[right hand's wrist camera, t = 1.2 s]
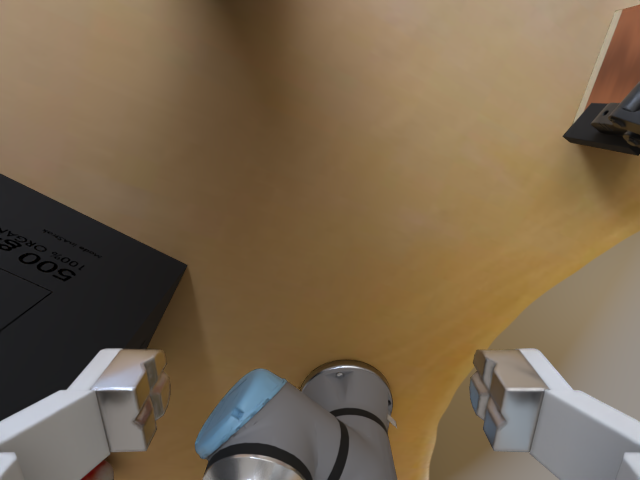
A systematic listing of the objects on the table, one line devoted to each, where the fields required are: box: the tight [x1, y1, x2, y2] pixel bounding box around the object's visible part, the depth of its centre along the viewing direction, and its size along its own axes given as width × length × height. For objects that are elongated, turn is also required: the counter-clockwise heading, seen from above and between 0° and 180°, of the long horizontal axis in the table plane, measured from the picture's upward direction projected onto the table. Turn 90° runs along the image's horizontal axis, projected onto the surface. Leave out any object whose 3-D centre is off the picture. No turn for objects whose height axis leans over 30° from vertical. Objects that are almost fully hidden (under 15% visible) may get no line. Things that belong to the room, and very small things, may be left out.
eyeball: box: [81, 460, 114, 480], centre depth 69 cm, size 6×6×6 cm
